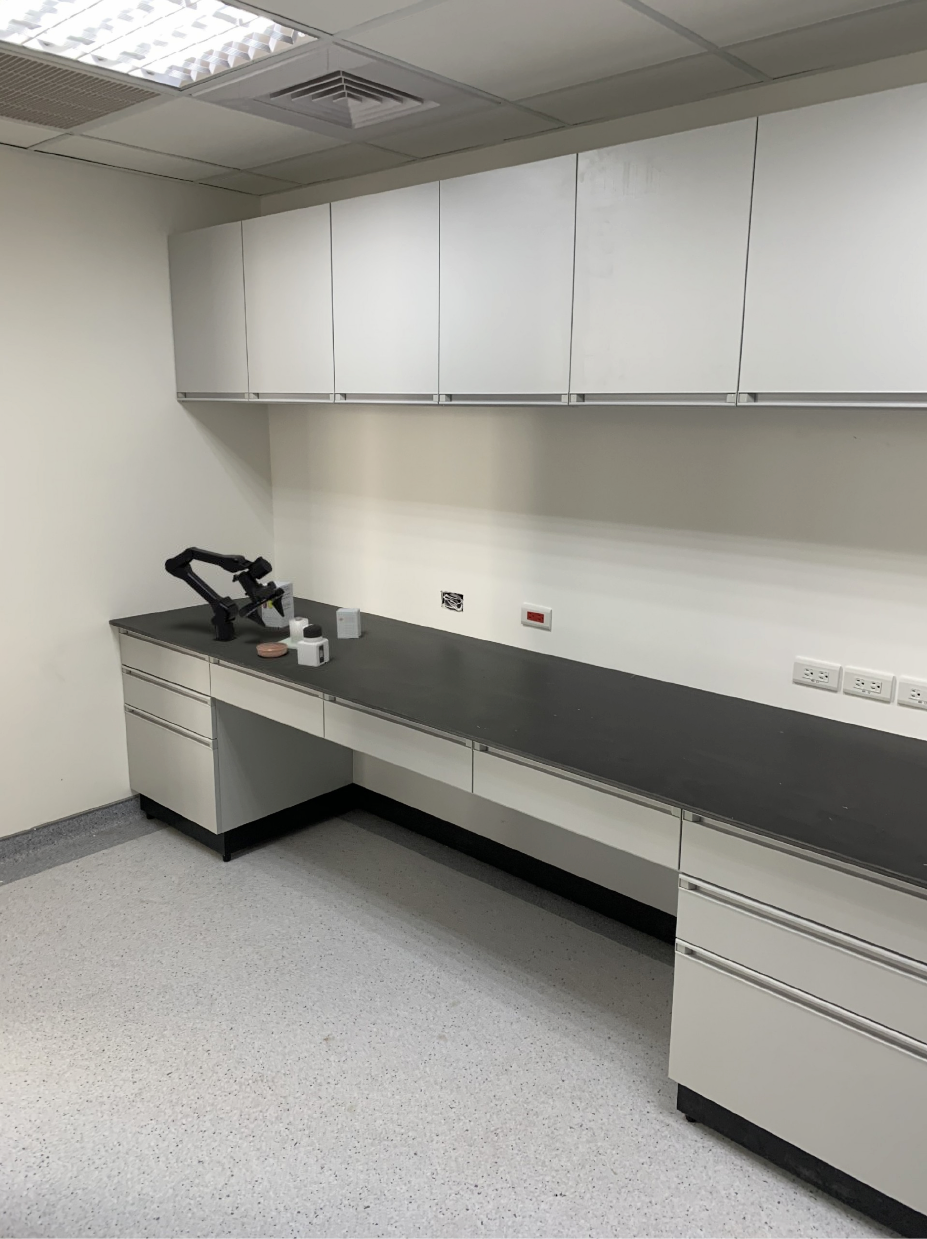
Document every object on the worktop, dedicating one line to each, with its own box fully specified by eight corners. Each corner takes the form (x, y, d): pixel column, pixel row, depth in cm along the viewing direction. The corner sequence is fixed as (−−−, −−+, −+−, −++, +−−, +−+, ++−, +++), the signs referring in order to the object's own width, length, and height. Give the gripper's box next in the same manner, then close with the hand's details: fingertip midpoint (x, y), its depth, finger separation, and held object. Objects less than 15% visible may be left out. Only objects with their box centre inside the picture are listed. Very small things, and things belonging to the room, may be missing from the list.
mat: (273, 646, 320) (273, 644, 320) (294, 636, 333) (294, 634, 333) (305, 650, 315) (305, 648, 315) (326, 640, 327) (326, 638, 327)
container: (329, 661, 302) (328, 624, 299) (316, 667, 295) (315, 629, 292) (310, 658, 305) (308, 622, 302) (297, 664, 298) (295, 627, 295)
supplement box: (261, 626, 349) (259, 584, 345) (275, 620, 358) (272, 580, 354) (282, 628, 346) (280, 586, 342) (295, 622, 354) (293, 581, 350)
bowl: (250, 656, 307) (250, 648, 307) (268, 649, 317) (268, 641, 316) (276, 660, 303) (275, 651, 302) (293, 652, 313) (293, 644, 312)
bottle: (289, 644, 320) (288, 620, 318) (291, 639, 327) (289, 615, 324) (308, 643, 321) (307, 619, 318) (310, 638, 327) (308, 614, 325)
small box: (361, 635, 335) (360, 608, 332) (358, 638, 330) (357, 611, 327) (340, 634, 336) (339, 607, 333) (337, 638, 330) (336, 611, 328)
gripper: (241, 587, 310) (265, 624, 311) (279, 567, 323) (303, 603, 324) (228, 599, 318) (251, 635, 319) (266, 579, 331) (289, 614, 332)
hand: (274, 621), depth 323 cm, fingers open, 9 cm apart
